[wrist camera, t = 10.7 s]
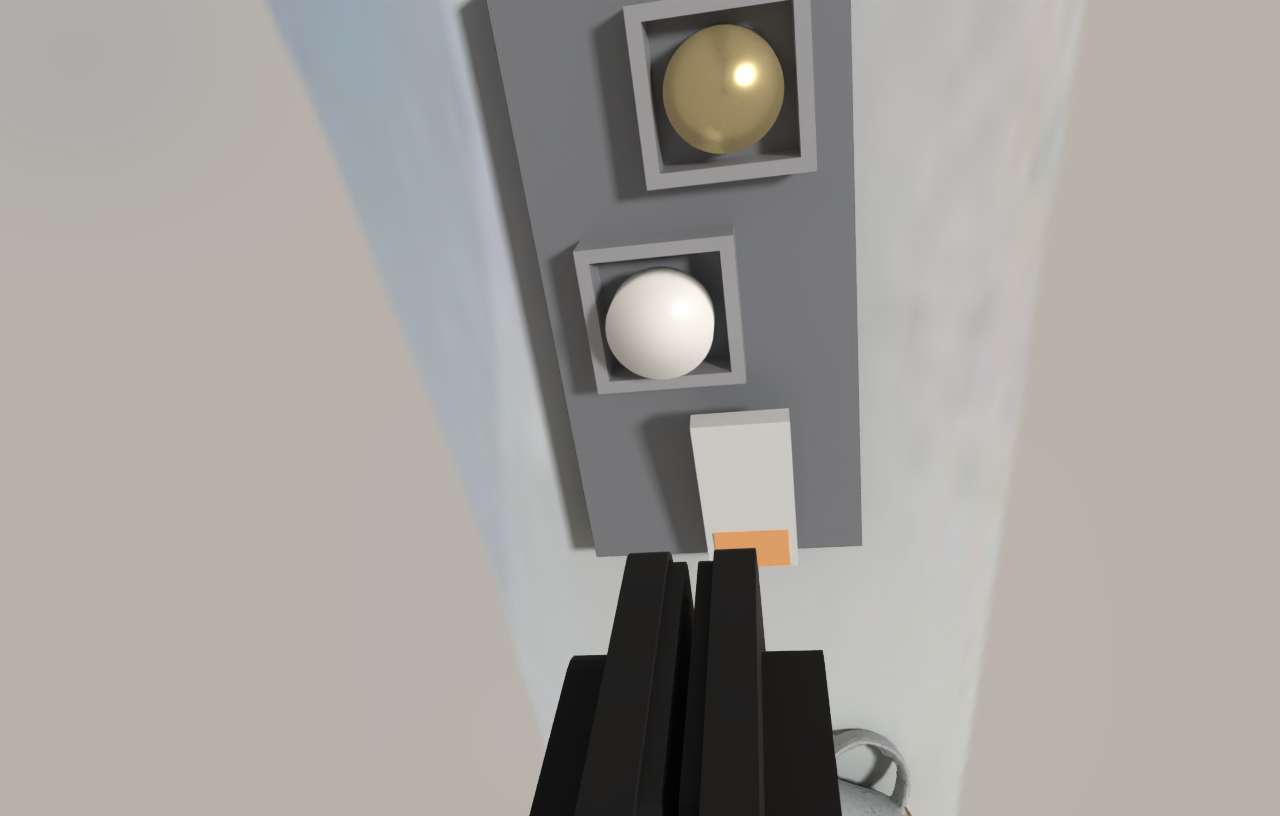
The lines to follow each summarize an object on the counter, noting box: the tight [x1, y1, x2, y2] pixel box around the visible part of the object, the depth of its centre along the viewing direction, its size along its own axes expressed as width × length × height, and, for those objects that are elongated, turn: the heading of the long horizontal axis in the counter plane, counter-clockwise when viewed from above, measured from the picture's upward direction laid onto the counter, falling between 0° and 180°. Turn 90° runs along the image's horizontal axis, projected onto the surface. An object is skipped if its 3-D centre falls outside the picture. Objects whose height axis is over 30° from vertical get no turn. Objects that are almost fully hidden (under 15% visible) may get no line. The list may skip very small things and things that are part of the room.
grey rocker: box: [690, 408, 799, 567], centre depth 39 cm, size 9×4×1 cm, turn 7°
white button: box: [605, 266, 715, 380], centre depth 36 cm, size 5×5×2 cm
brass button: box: [663, 23, 784, 154], centre depth 32 cm, size 5×5×2 cm
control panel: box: [486, 0, 862, 557], centre depth 37 cm, size 28×14×4 cm, turn 8°
